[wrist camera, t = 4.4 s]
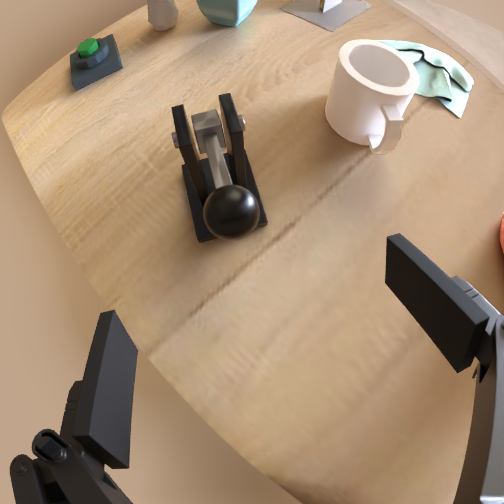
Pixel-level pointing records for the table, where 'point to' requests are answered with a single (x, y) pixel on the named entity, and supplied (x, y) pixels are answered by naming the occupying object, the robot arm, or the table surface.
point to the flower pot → (226, 10)
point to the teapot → (502, 233)
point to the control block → (95, 63)
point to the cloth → (437, 75)
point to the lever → (223, 185)
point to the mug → (370, 94)
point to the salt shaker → (162, 14)
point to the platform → (327, 11)
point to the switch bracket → (200, 170)
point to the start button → (88, 47)
